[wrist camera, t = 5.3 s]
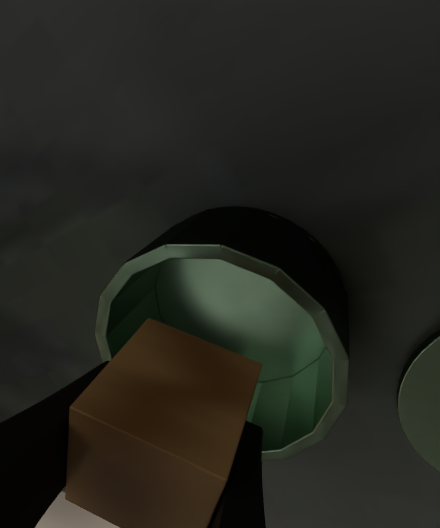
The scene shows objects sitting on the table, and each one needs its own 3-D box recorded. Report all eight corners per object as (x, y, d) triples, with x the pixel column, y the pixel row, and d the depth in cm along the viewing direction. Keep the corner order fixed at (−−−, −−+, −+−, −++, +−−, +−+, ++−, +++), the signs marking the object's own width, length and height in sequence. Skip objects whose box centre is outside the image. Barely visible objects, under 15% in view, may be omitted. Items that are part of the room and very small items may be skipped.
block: (263, 363, 11) (227, 481, 8) (232, 442, 13) (192, 566, 10) (148, 316, 12) (68, 406, 8) (134, 398, 14) (64, 499, 10)
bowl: (397, 314, 18) (416, 391, 13) (251, 411, 23) (227, 491, 18) (227, 158, 17) (183, 181, 12) (119, 296, 23) (60, 348, 18)
